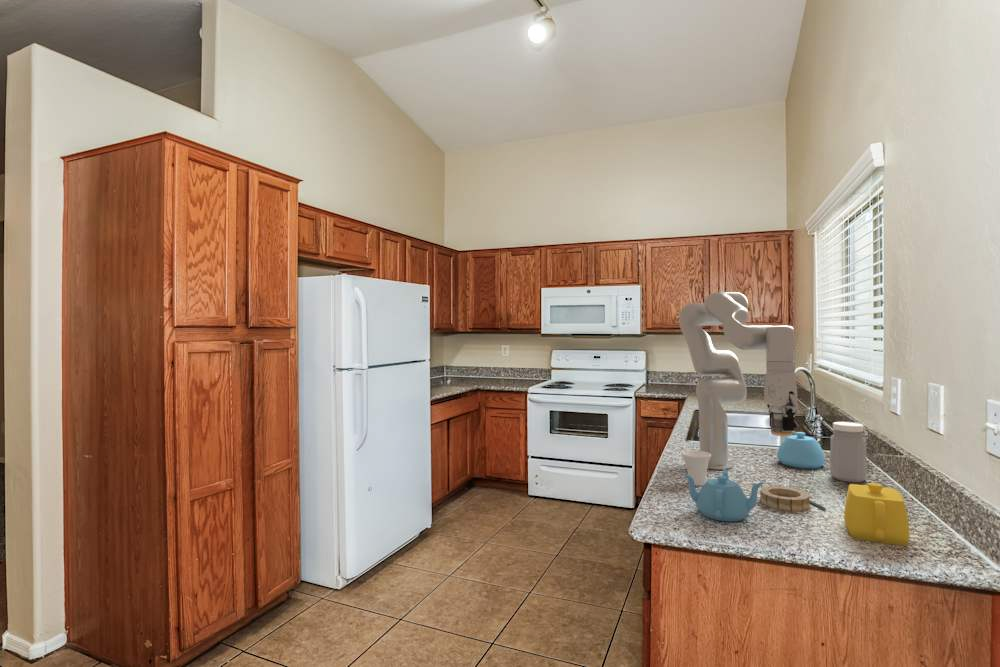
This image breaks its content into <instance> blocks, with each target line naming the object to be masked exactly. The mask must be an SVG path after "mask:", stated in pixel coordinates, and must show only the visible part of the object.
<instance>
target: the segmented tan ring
mask: <svg viewBox="0 0 1000 667" xmlns="http://www.w3.org/2000/svg"><path fill="white" fill-rule="evenodd" d="M759 494H760V503H761V504H763V505H765V506H767V507H770V508H774V509H777V510H782V511H790V512H791V511H792V512H796V511H799V512H802V511H805V510H808V509H810V502H809V500H810V494H809V493H808V492H806V491H804V490H801V489H797V488H793V487H789V486H788V487H787V486H775V485H774V486H773V485H770V486H764V487H761V488H760V493H759Z"/></svg>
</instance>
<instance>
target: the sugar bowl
mask: <svg viewBox="0 0 1000 667" xmlns="http://www.w3.org/2000/svg"><path fill="white" fill-rule="evenodd" d="M777 450H778V451H777V454H776V455H777V456H776V457H777V459H778V460H779V462H780V463H781V464H783V465H785V466H787V467H791V468H792V467H793V468H798V469H808V470H809V469H819V468H822V467H823V465H825V463H826V457H825V453H824V450H823V449H822V446H821V445H820V444H819V443H818V441H817V440H816V438H815V437H813V436H807V435H806V433H805V432H803V431H797V432H795V435H794V434H793V435H792V436H785V438H784V439H783V441H782V442H781V444H780V445H779V447H778V449H777Z"/></svg>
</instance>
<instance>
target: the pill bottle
mask: <svg viewBox="0 0 1000 667" xmlns="http://www.w3.org/2000/svg"><path fill="white" fill-rule="evenodd" d="M785 406H789V404H786V405H785ZM788 410H789V409H787V411H788ZM782 417H784V414H783V410H782V407H777V406H773V408H772V409H771V427H770V433H771V435H773V436H777V437H787V436H792V435H794V431H783V429H782Z"/></svg>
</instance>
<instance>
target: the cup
mask: <svg viewBox="0 0 1000 667" xmlns="http://www.w3.org/2000/svg"><path fill="white" fill-rule="evenodd" d="M681 456H682V458H683V460H684V462H685V466H686V469H687V474H688V475H690V476H691V477H692V478H693V479H694V485H695V487H703V485H704V484H705V483H706V482H707V481H708V479H707V474H708V469H707V467H708V462H709V460H710V457H711V454H710V453H708V452H704V451H700V450H696V449H695V450H694V449H693V450H687V449H684V450H683V451H682V452H681ZM687 482H688V483H689V481H688V480H687Z"/></svg>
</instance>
